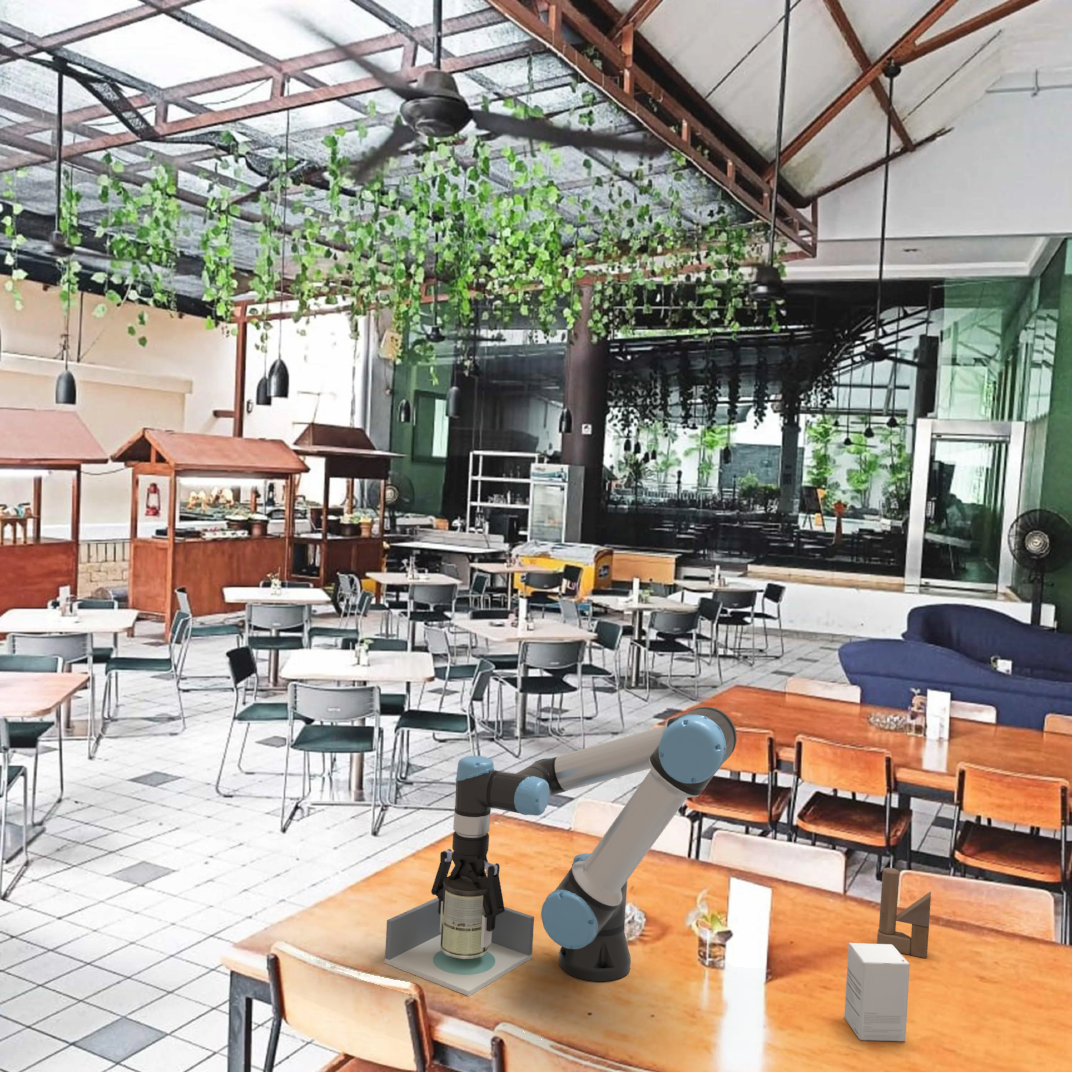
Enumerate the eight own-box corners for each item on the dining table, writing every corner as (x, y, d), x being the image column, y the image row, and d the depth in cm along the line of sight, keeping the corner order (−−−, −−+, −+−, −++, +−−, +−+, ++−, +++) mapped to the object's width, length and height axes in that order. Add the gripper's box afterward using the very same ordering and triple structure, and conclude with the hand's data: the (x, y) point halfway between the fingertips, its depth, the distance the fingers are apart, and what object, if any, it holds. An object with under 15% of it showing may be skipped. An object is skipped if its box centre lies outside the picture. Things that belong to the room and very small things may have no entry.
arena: (531, 958, 217) (534, 916, 216) (468, 996, 198) (471, 950, 198) (451, 929, 229) (453, 890, 229) (384, 963, 210) (387, 920, 210)
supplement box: (888, 1018, 199) (893, 943, 199) (906, 1042, 190) (911, 963, 190) (842, 1016, 199) (847, 941, 198) (858, 1040, 190) (863, 961, 189)
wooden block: (926, 959, 227) (932, 879, 227) (876, 949, 231) (881, 870, 231) (927, 952, 231) (932, 874, 230) (877, 942, 235) (882, 866, 234)
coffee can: (432, 941, 214) (436, 875, 214) (478, 935, 218) (482, 870, 218) (449, 962, 205) (453, 893, 204) (496, 955, 209) (500, 888, 209)
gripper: (526, 840, 208) (519, 947, 208) (440, 816, 220) (434, 917, 221) (505, 849, 201) (498, 959, 202) (417, 823, 214) (411, 928, 215)
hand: (465, 937), depth 211 cm, fingers closed on coffee can, 10 cm apart
